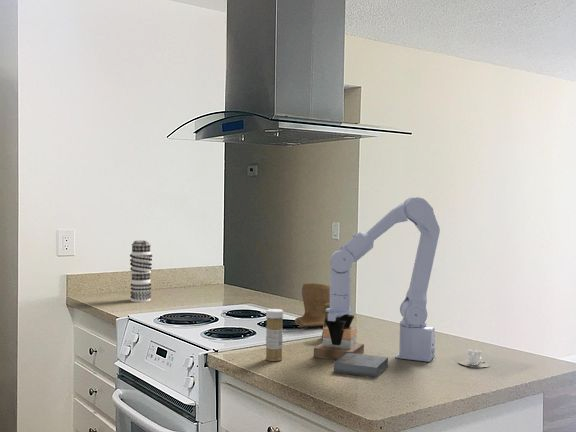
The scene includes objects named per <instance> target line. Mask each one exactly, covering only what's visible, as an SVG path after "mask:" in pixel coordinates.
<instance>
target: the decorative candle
mask: <svg viewBox="0 0 576 432" xmlns="http://www.w3.org/2000/svg"><path fill="white" fill-rule="evenodd" d="M151 253H152V252H151V243H150V242H149V241H148V240H134V241H133V243H132V244H131V253H130V254H129V257H130V259H129V262H130V263H129V265H130V266H131V267H130V269H129V270H130V273H131V280H130V286H131V287H130V290H131V291H130V296H129V297H130V301H131V302H134V303H145V302H151V301H152V299H151V298H152V291H151V289H152V287H151V286H152V283H151V274H152V271H151V270H152V269H153V267H152V265H153V264H152V263H151V261H153V259H152V257H153V254H151Z"/></svg>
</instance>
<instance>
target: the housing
mask: <svg viewBox="0 0 576 432" xmlns="http://www.w3.org/2000/svg"><path fill="white" fill-rule="evenodd" d="M322 332H323V339H322V343H323V346H325V347H333V348H342V349H352V348H353V347H354V346H356V343H357V327H351V326H350V327H344V328H343V331H342V337H341V343H340V345H332V342H331V337H330V332H329V329H328V327H325V328H322Z"/></svg>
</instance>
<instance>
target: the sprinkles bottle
mask: <svg viewBox="0 0 576 432" xmlns="http://www.w3.org/2000/svg"><path fill="white" fill-rule="evenodd" d="M265 317H266V333H265V335H266V336H265V347H266V348H265V349H266V351H265V352H266V353H265V355H266V356H265V360H267V361H269V362H281V361H282V360H283V337H284V336H283V335H284V334H283V333H284V331H283V330H284V329H283V318H284V310H283V309H279V308H269V309H266V312H265Z"/></svg>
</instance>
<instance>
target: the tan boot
mask: <svg viewBox="0 0 576 432" xmlns="http://www.w3.org/2000/svg"><path fill="white" fill-rule="evenodd" d="M301 297H302V302H303V307H304V314H303V315H302V316H299V317H296V318H295V319H294V323H295V325H296V324H297V325H299V327H298V328H300V329H301V328H303V329H304V328H306V329H307V328H317V327H323V325H324V318H325V312H324V310H323V308H324V305H325V304H327V303H330V283H321V282H305V283H303V284H302V286H301ZM297 325H296V326H297Z"/></svg>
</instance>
